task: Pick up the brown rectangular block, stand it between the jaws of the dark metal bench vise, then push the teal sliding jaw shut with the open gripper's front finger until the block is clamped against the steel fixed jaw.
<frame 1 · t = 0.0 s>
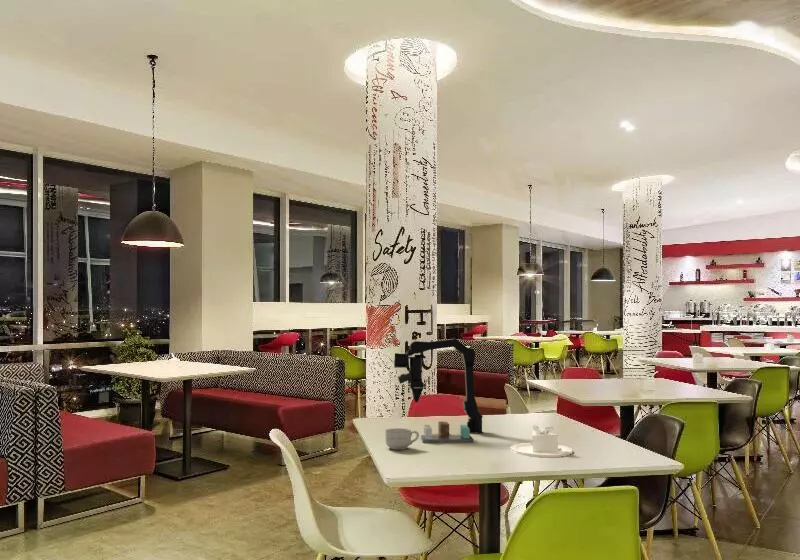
hand: (415, 401, 304), 15 cm above the table, fingers open, 9 cm apart
vise base: (446, 440, 284), on the table
dish: (541, 452, 264), on the table
teacup: (401, 449, 266), on the table
brown rectangular block: (443, 436, 295), on the table
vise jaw: (464, 431, 285), point 4 cm above the table, slide at 14.0 cm
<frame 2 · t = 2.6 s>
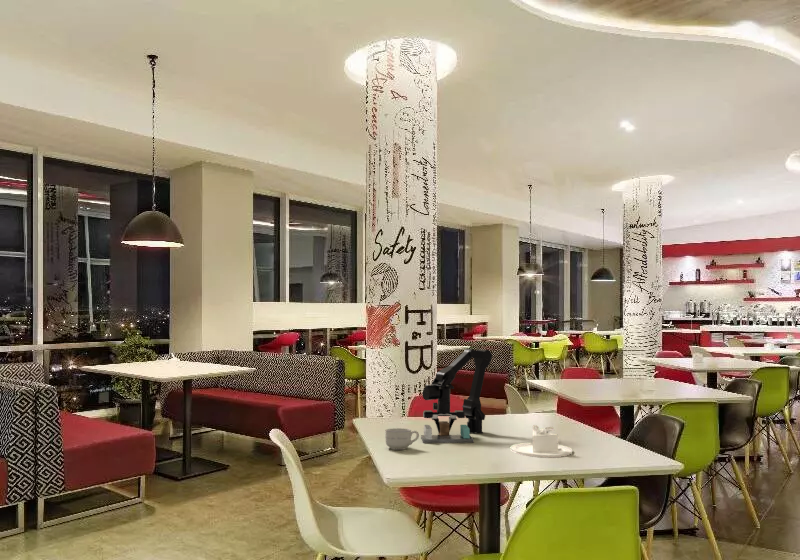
hand: (443, 433, 295), 1 cm above the table, fingers closed on brown rectangular block, 4 cm apart
brown rectangular block: (443, 435, 295), on the table, touching gripper
everything else where it was.
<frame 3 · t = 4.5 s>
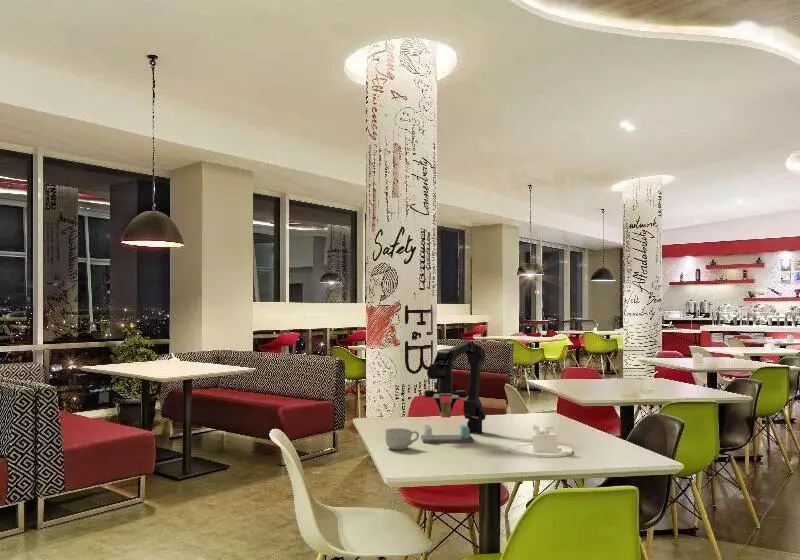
hand: (445, 413, 287), 12 cm above the table, fingers closed on brown rectangular block, 4 cm apart
brown rectangular block: (445, 416, 287), point 10 cm above the table, touching gripper
everything else where it was.
when the fingers open (4 cm above the table, at t = 6.4 s): brown rectangular block stays where it is, resting on vise base.
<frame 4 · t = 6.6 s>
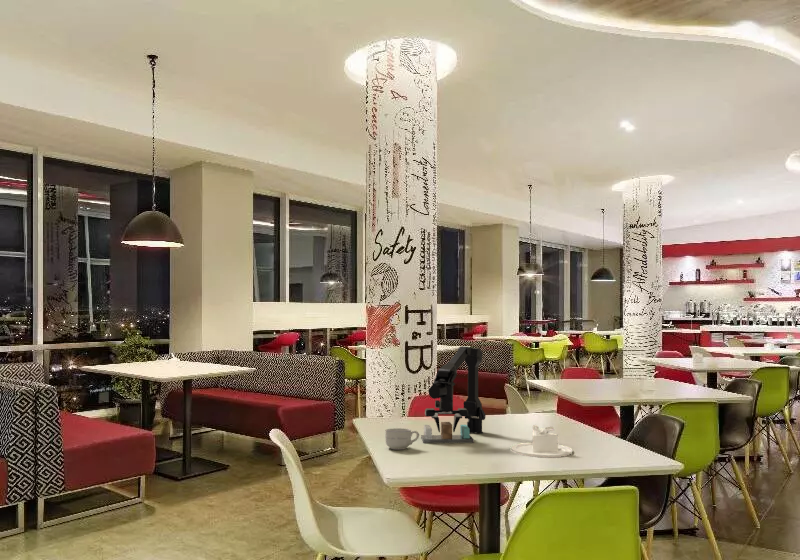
hand: (446, 432, 284), 4 cm above the table, fingers open, 6 cm apart
brown rectangular block: (446, 437, 284), point 1 cm above the table, touching vise base
everything else where it was.
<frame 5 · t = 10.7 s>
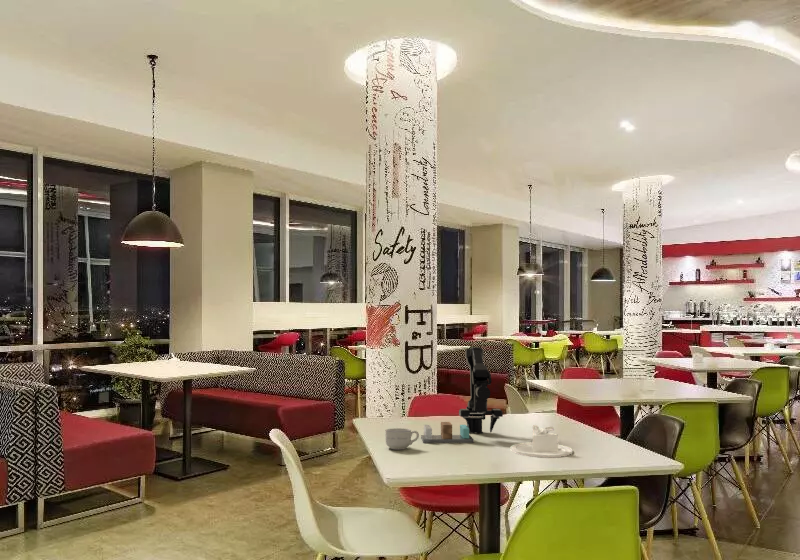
hand: (480, 432, 285), 4 cm above the table, fingers open, 9 cm apart
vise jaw: (464, 431, 285), point 4 cm above the table, slide at 13.8 cm, touching gripper
everything else where it was.
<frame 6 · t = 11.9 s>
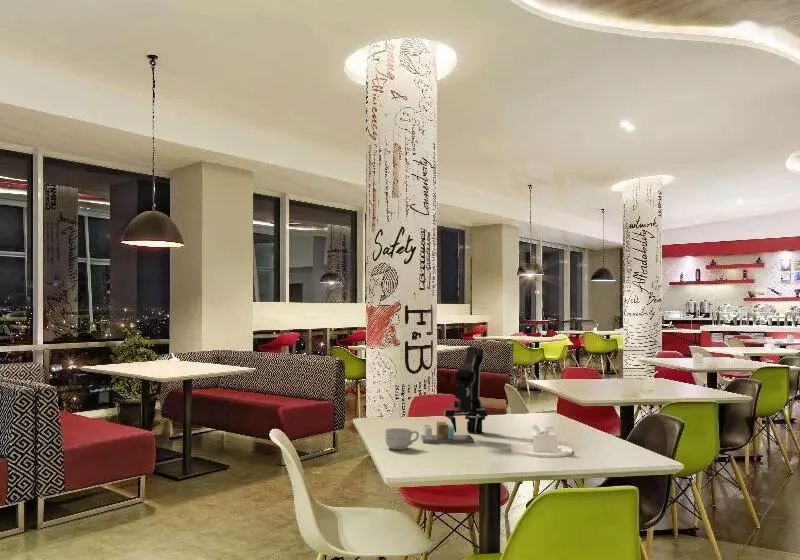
hand: (465, 432, 285), 4 cm above the table, fingers open, 9 cm apart
brown rectangular block: (442, 437, 284), point 2 cm above the table, touching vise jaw
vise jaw: (449, 431, 284), point 4 cm above the table, slide at 7.1 cm, touching gripper, brown rectangular block
everything else where it was.
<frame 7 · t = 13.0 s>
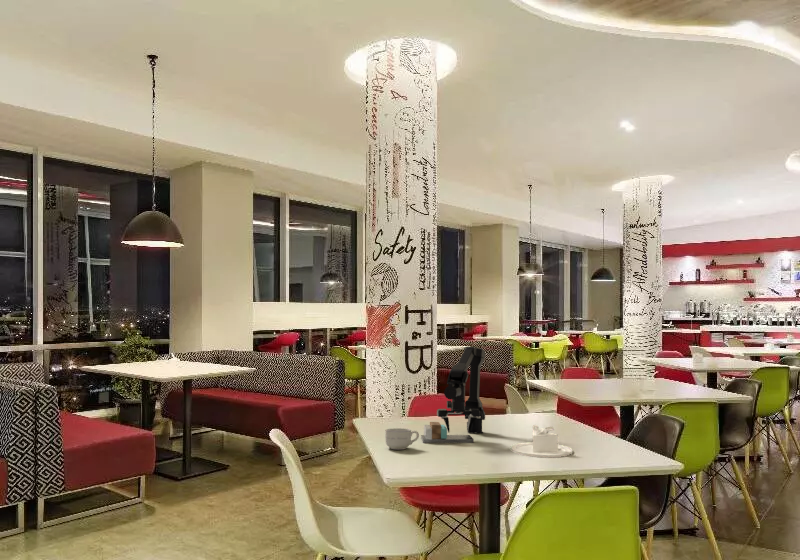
hand: (458, 432, 284), 4 cm above the table, fingers open, 8 cm apart
brown rectangular block: (435, 437, 284), point 1 cm above the table, touching vise base, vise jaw
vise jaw: (442, 431, 284), point 4 cm above the table, slide at 4.1 cm, touching gripper, brown rectangular block
everything else where it was.
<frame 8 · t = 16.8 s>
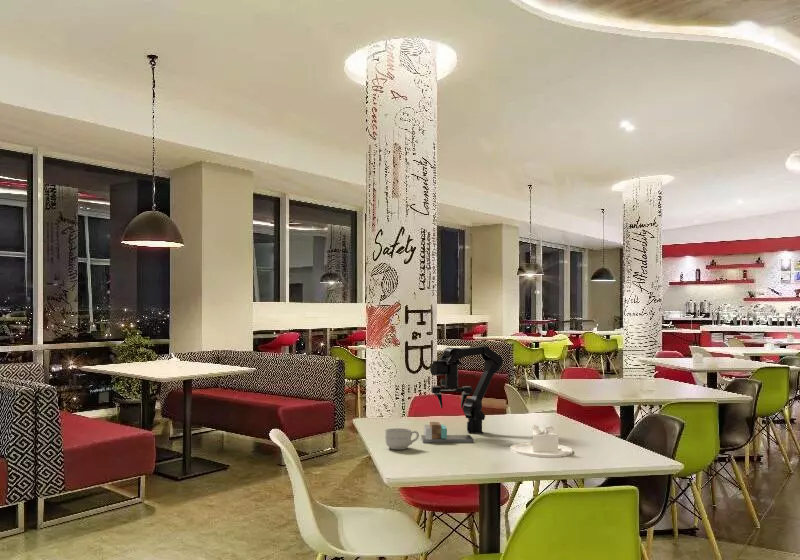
hand: (451, 408, 299), 12 cm above the table, fingers open, 9 cm apart
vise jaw: (442, 431, 284), point 4 cm above the table, slide at 4.1 cm, touching brown rectangular block
everything else where it was.
at the end: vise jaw slide at 4.1 cm; brown rectangular block 0.0 cm from the target spot on the vise base, point 1.5 cm above the vise base's base; brown rectangular block tilted 0° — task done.
